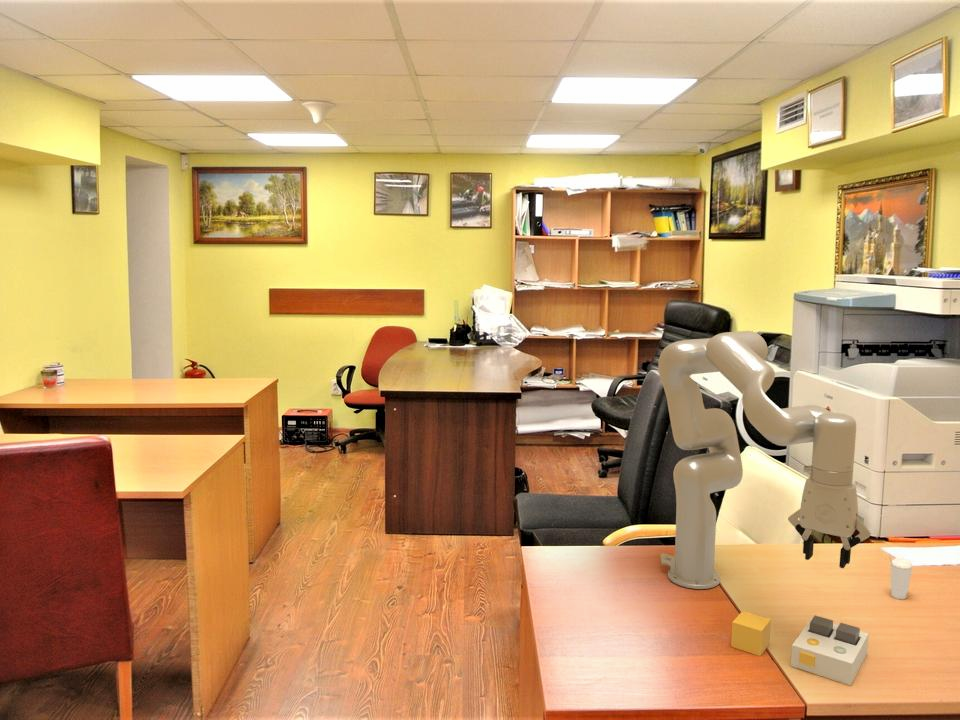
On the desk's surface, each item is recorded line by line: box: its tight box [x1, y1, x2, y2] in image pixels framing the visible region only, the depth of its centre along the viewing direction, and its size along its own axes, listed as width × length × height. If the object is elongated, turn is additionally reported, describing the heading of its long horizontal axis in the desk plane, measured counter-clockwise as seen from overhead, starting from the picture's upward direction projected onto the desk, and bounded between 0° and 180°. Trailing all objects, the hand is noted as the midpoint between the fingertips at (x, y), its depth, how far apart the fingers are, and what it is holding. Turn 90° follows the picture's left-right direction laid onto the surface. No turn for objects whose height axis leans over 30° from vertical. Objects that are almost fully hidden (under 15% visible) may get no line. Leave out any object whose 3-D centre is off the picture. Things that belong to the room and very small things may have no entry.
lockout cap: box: [730, 610, 772, 657], centre depth 159 cm, size 6×6×6 cm
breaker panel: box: [790, 617, 870, 687], centre depth 153 cm, size 11×14×5 cm
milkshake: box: [889, 556, 913, 600], centre depth 180 cm, size 5×5×10 cm
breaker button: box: [835, 622, 861, 646], centre depth 153 cm, size 4×4×4 cm
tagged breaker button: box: [809, 615, 834, 638], centre depth 156 cm, size 4×4×4 cm
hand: (825, 560), depth 154 cm, fingers open, 5 cm apart
